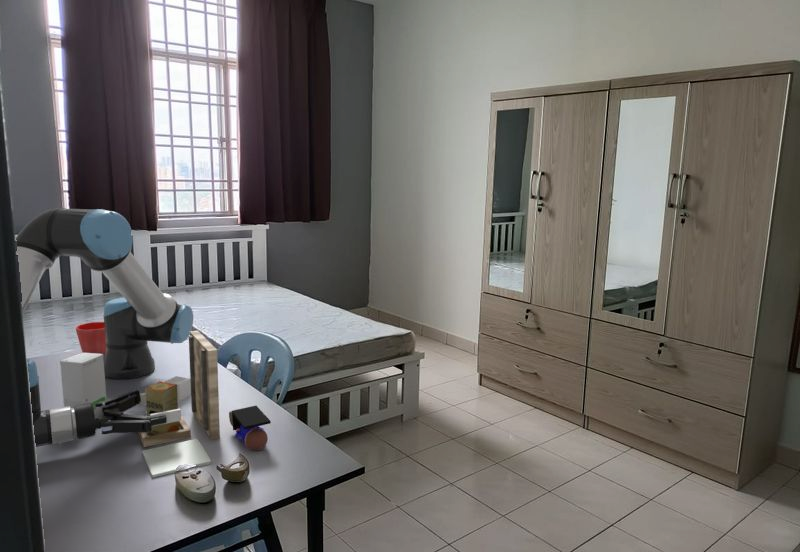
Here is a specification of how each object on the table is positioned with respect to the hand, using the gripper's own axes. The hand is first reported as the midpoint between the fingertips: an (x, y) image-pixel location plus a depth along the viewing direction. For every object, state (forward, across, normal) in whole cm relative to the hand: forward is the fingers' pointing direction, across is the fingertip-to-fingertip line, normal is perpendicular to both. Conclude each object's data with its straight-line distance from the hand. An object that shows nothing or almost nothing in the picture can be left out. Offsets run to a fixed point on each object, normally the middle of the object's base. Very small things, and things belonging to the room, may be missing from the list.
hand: (174, 404), depth 140 cm
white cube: (+5, -22, -7) cm, 23 cm away
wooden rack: (0, 0, -7) cm, 7 cm away
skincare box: (-18, -20, -7) cm, 28 cm away
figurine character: (+14, +13, -7) cm, 21 cm away
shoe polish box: (-3, 0, -7) cm, 8 cm away
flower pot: (-11, -73, -7) cm, 74 cm away
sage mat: (-3, +14, -7) cm, 16 cm away
